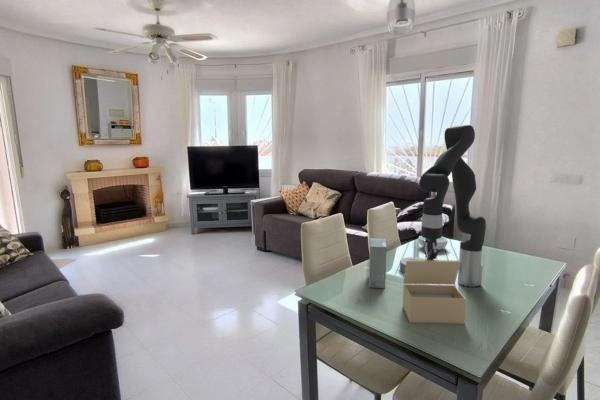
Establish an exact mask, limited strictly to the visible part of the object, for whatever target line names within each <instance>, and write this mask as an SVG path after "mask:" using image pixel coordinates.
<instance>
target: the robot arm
mask: <svg viewBox="0 0 600 400" xmlns="http://www.w3.org/2000/svg"><path fill="white" fill-rule="evenodd" d="M475 139H476V131H475V129H474V127H473V126H472V125H470V124H463V125H462V124H461V125H455V126H449V127H447V128H446V129H445V131H444V144H445V148H446V150H445V151H443V152H442V153H440V154H439V156H438V158H437V159H436V160H435V162H434V164H433V165H432V166H431V167H430V168H428V169H427V170H426V171H424V172H423V174H422V175H421V176H420V178H419V181H418V182H419V183H418V184H419V188H420V190H421V191H422V192H428V193H436V195H435V196H434V197H427V198H425V199H424V200H423V203H422V205H423V206H422V216H421V226H420V227H421V229H420V230H421V231H420V236H422V237H424V238H426V240H425V241H423V243H424V247H423V251H424V255H425V258H426V260H437V256H438V254H439V250H438V249H436V248H437V242H436V240H437V239H439V238H441V237H443V221H444V220H443V208H444V201H445V198H446V194H447V193H448V189H449V187H450V179H449V176H450V175H451V179H452V180H451V181H452V187H453V192H454V197H455V198H454V199H455V207H456V225H457V229H458V230H459V232H461V233H464V234H466V235H470V237H469V238H470V239H464V240H461V241H460V244H459V257H458V258H459V259H458V261H460V262H461V263H460V266H459V270H458V274H457V283H458V284H459V285H461V286H463V285H464V287H467V286H469V287H468V288H477V287H480V286H479V285H481V286H482V280H483V278H482V277H483V266H482V253H483V245H484V243H485V235H486V229H487V222H486V220H485V217H483V216H481V215H475V214H471V213H470V202H471V200H472V198H473V196H475V192H476V190H477V182H476V174H475V173H474V170H473V169H472V168H471V167H470V165H468V164H467V162H466V161H465V160H464V159H463V156H464V155H465V153H466V152H467V151H468V150H469V149H470V148H471V146H472V145H473V143H474V141H475ZM476 286H477V287H476Z"/></svg>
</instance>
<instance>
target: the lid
mask: <svg viewBox="0 0 600 400" xmlns="http://www.w3.org/2000/svg"><path fill="white" fill-rule="evenodd" d="M460 263H461V262H460V261H459V260H452V259H451V260H447V259H446V260H445V259H444V260H441V259H433V260H427V259H426V260H407V261H406V267H405V273H403V274H404V275H403V283H402V284H403V285H404V284H411V285H455V284H456V281H457V279H458V271H459V266H460ZM455 286H456V285H455Z"/></svg>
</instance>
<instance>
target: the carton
mask: <svg viewBox="0 0 600 400" xmlns="http://www.w3.org/2000/svg"><path fill="white" fill-rule="evenodd" d="M402 292H403V293H402V309H403V311H404V313H405V316H406V318H407V320H408V323H419V324H444V325H445V324H447V325H448V324H449V325H451V324H452V325H465V323H466V322H465V320H466V311H467V310H466V307H467V298H466V297H465V296H464V294H463V293H462V292H461V291H460V290H459V288H458V287H456V285H453V284H404V283H403V288H402Z"/></svg>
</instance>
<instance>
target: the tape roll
mask: <svg viewBox="0 0 600 400" xmlns="http://www.w3.org/2000/svg"><path fill="white" fill-rule="evenodd" d="M407 260H427V258H426V259H425V258H421V257H417V256H414V257H413V256H409V257H403V258H401V259H400V260H399V270H400V272H402V273H403V274H405V267H406V261H407Z"/></svg>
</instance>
